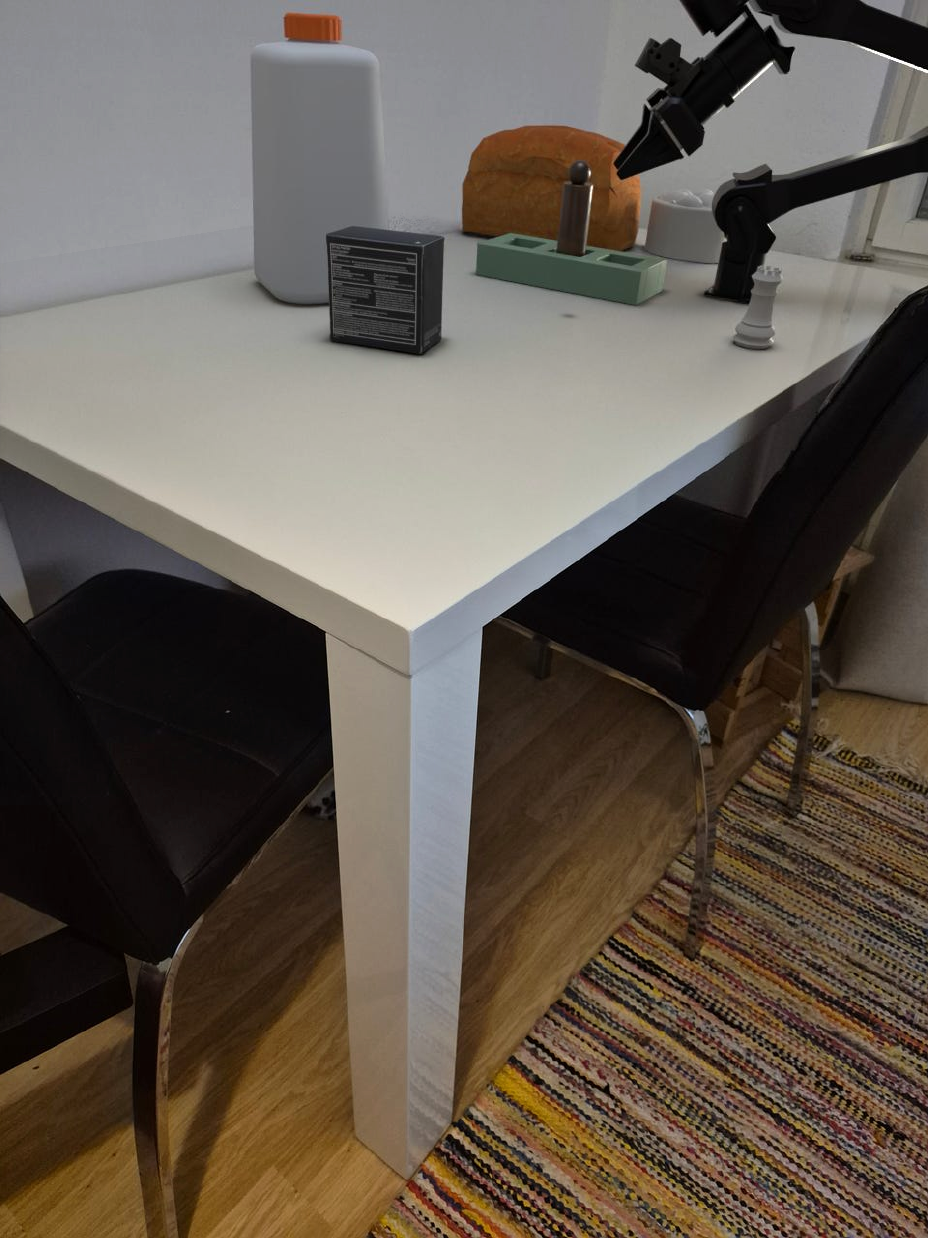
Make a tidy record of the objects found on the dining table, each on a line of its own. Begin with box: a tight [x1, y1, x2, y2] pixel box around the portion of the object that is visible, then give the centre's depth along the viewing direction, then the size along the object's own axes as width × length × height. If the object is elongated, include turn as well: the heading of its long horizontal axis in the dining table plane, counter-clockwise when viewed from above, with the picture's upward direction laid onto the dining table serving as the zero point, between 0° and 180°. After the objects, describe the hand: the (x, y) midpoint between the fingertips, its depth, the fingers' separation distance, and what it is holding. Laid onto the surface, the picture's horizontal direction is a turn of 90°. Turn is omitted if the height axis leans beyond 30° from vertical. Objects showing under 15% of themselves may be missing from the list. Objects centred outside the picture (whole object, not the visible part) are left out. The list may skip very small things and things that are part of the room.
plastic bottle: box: [250, 12, 391, 305], centre depth 100 cm, size 15×15×28 cm
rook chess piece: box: [732, 265, 784, 350], centre depth 95 cm, size 4×4×8 cm
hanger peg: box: [556, 160, 593, 257], centre depth 112 cm, size 4×4×15 cm
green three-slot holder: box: [475, 233, 668, 306], centre depth 115 cm, size 9×23×4 cm, turn 59°
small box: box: [326, 226, 445, 355], centre depth 89 cm, size 11×6×10 cm, turn 71°
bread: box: [461, 124, 642, 252], centre depth 135 cm, size 16×27×16 cm, turn 62°
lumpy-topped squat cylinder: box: [644, 187, 727, 264], centre depth 133 cm, size 10×13×9 cm
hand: (616, 171), depth 108 cm, fingers open, 9 cm apart
